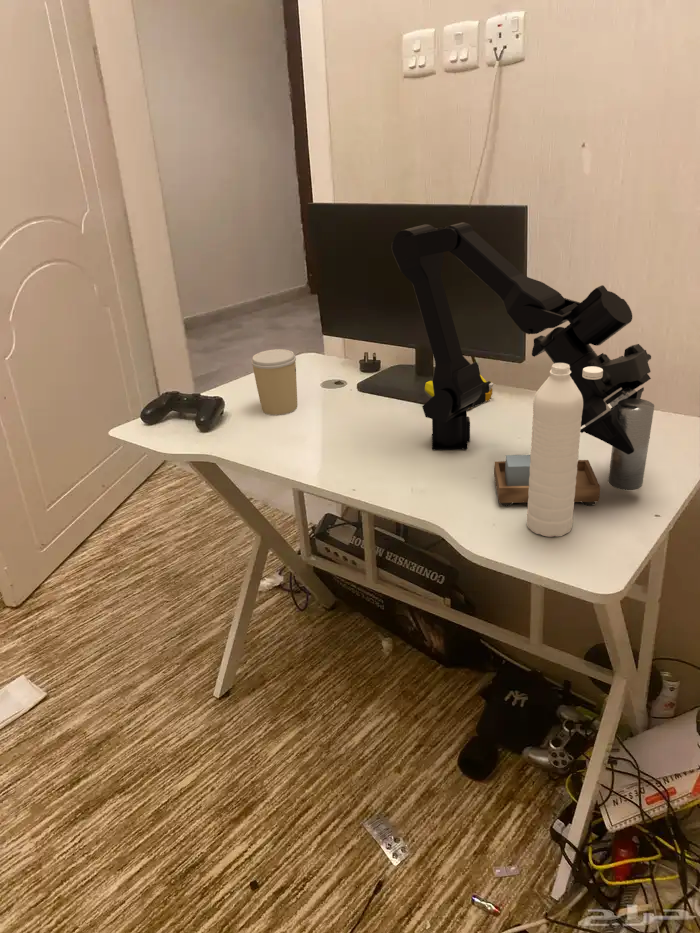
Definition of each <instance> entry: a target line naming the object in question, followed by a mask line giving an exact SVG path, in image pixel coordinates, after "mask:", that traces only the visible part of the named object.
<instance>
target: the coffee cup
mask: <svg viewBox="0 0 700 933" xmlns="http://www.w3.org/2000/svg"><path fill="white" fill-rule="evenodd" d="M296 361H297V357H296V355H295V353H294V352H293V351H292V350H288V349H284V348H283V349H282V348H281V349H279V348H277V349H275V348H274V349H267V350H263V351H259V352H258V353H256V354H254V355H253V356H252V359H251V366H252V370H253V374H254V380H255V383H256V389H257V394H258V398H259V399H258V400H259V402H260V404H259V405H260V407H261V411H262V413H263V414H265V415H269V416H273V417H275V416H276V417H277V416H285V415H289V414H291V413H293V412H295V411H296V410H297V408H298V386H297V365H296Z"/></svg>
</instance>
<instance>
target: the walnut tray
mask: <svg viewBox="0 0 700 933" xmlns="http://www.w3.org/2000/svg"><path fill="white" fill-rule="evenodd" d="M505 462H506V460H503V461H502V460H501V461H500V460H499V461H497V460H496V461H495V460H494V462H493V464H494V468H493V473H494V474H493V476H494V482H495V488H496V493H497V499H498V503H499V505H500V506H502V507H510V506H513V503H519V504H520V503H528V498H529V496H528V491H529V486H507V485H506V480H505ZM593 469H594V468H592V465H591V462H590V461H589V460H588V459H578V464H577V476H576V486H575V498H574V503H582V504H583V505H584V506H589V507H591V506H595V505H596V503H598V502H600V494H601V485H600V482H599V481H598V478H597V476H596V474H595V472H594V470H593Z"/></svg>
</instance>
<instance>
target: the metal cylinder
mask: <svg viewBox="0 0 700 933" xmlns="http://www.w3.org/2000/svg"><path fill="white" fill-rule="evenodd" d="M617 406H618V411H617V421H618V422H619V424H620V426H621V427H622V429H623V430H624V432H625V434H626V435H627V437H628V439H629V440H630V442H631V444H632V446H633V448H634V452H633V453H631V454H626V453H624V452H622V451H621V450H619V449H617V448H615V447H613V446H612V445H611V446H612V447H611V452H610V454H611V455H610V463H609V471H608V476H607V477H608V480H607V482H608V485H610V486H611V487H613V488H615V489H616V490H617V489H618V490H621V491H637V490H639V489H641V488H642V487H643V483H644V477H645V476H644V475H645V470H646V464H647V457H648V450H649V444H650V439H649V438H651V432H652V431H651V430H652V424H653V418H654V411H655V404H654V403H652V401H650V400H646V399H643V398H640V399H636V398H629V399H623V400H620V401H619V402H618V405H617Z"/></svg>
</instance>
